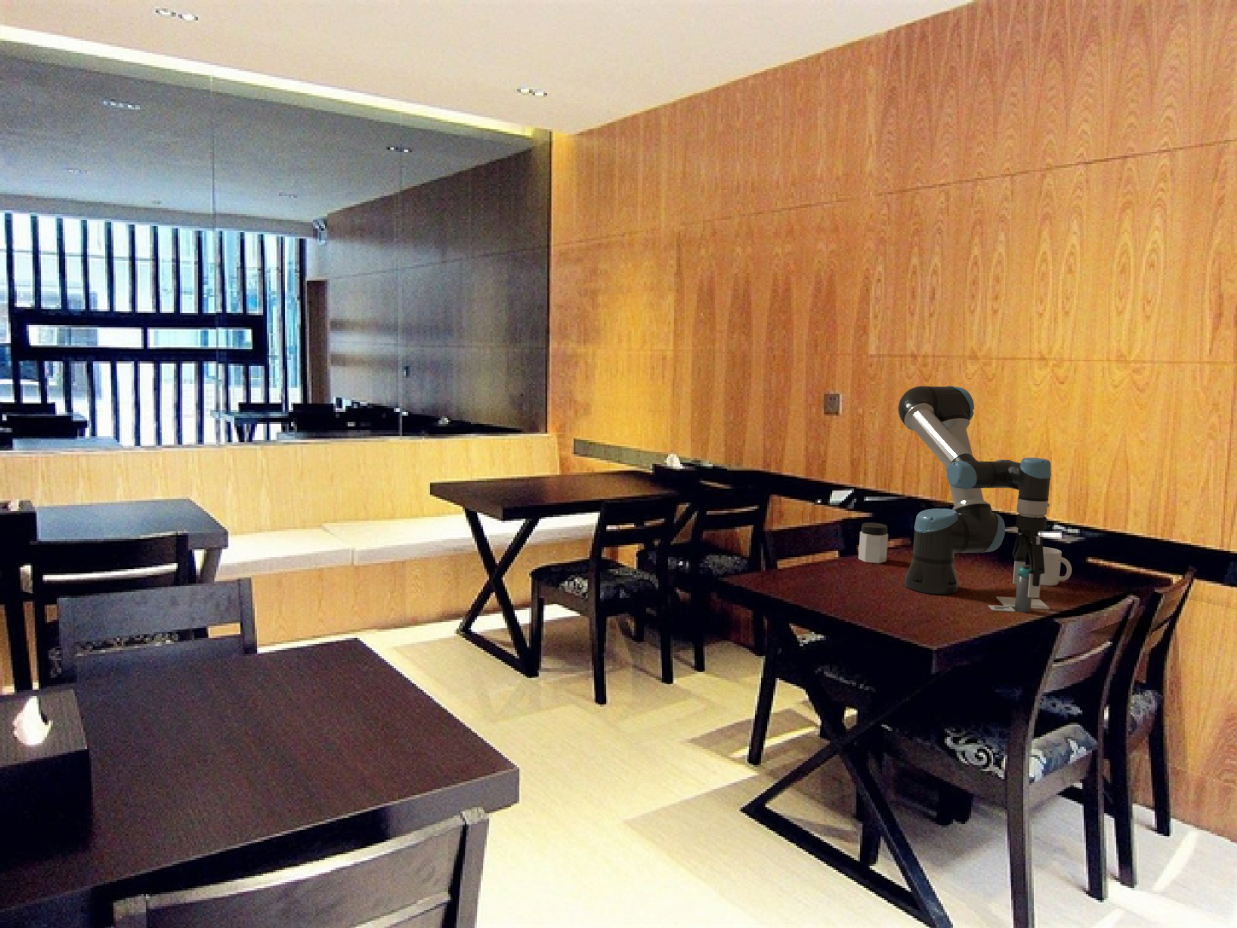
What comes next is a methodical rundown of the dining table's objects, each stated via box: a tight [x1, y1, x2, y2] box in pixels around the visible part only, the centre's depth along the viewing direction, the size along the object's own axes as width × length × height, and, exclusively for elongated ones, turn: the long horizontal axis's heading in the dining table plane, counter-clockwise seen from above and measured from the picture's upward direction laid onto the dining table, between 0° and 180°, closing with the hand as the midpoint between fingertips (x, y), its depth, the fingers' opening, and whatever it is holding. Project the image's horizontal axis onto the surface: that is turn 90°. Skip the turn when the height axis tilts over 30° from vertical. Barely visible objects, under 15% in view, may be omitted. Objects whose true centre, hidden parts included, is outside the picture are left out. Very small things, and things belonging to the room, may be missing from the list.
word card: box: [988, 604, 1016, 613], centre depth 250 cm, size 6×4×1 cm, turn 82°
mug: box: [1040, 546, 1073, 587], centre depth 277 cm, size 12×8×10 cm
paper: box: [995, 596, 1051, 610], centre depth 256 cm, size 12×9×1 cm
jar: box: [858, 522, 889, 564], centre depth 300 cm, size 9×8×12 cm
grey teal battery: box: [1014, 564, 1033, 614], centre depth 248 cm, size 4×4×13 cm
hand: (1025, 590), depth 248 cm, fingers open, 13 cm apart
